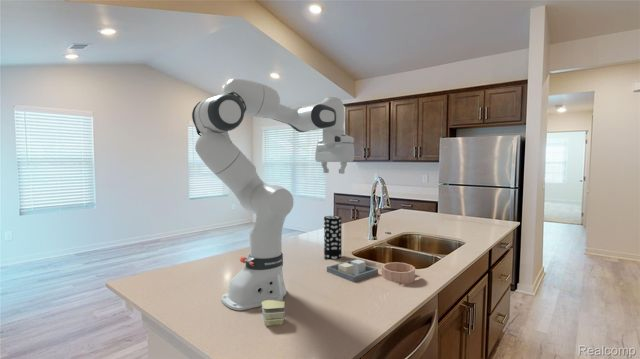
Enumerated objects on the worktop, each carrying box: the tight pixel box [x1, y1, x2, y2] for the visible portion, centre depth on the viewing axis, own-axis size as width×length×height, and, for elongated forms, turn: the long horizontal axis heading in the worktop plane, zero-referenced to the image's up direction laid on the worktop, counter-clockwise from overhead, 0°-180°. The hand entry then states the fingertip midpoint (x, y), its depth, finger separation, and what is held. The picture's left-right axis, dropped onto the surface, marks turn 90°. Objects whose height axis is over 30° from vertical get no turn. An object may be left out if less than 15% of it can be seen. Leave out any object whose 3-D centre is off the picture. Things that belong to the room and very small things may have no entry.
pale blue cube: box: [351, 259, 367, 273], centre depth 139 cm, size 4×4×4 cm
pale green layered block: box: [261, 300, 286, 327], centre depth 97 cm, size 10×9×6 cm
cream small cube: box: [338, 262, 354, 275], centre depth 134 cm, size 4×4×4 cm
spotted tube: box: [323, 215, 343, 261], centre depth 159 cm, size 8×8×20 cm
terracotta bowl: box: [381, 261, 416, 285], centre depth 132 cm, size 13×13×4 cm
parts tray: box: [326, 260, 379, 283], centre depth 137 cm, size 14×16×3 cm
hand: (333, 173), depth 134 cm, fingers open, 8 cm apart
